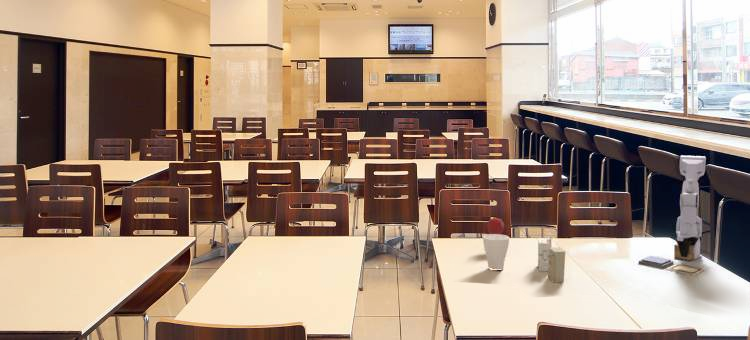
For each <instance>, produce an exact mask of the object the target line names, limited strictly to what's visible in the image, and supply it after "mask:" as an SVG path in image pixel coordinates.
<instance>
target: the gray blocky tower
mask: <svg viewBox="0 0 750 340" xmlns="http://www.w3.org/2000/svg"><path fill="white" fill-rule="evenodd" d="M548 234H549V238H538V239H537V240H538V241H537V243H538V244H537V249H538V250H537V255H538V258H537V267H539V268H538V272H547V271H548V262H549V248H552V234H551V232H550V231H549V233H548Z"/></svg>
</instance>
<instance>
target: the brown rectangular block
mask: <svg viewBox="0 0 750 340" xmlns="http://www.w3.org/2000/svg"><path fill="white" fill-rule="evenodd" d="M673 253H674V256H673V257H674V260H675V261H681V262H687V263H688V262H689V263H690V262H693V261H694V245H690V247H689V250H688V255H687V257H682V256H681V254H680V249H679V246H678V244H677V243H676V244H674V252H673ZM674 260H673V261H674Z"/></svg>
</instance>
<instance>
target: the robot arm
mask: <svg viewBox="0 0 750 340" xmlns="http://www.w3.org/2000/svg"><path fill="white" fill-rule="evenodd" d="M706 160H707V157H706V156H705V155H704V156H701V155H696V156H695V155H682V154H681V155H680V158H679V172H680V175H682V176H684V177H685V180H684V181H683V183H682V189H681V194H680V196H679V197H680V198H679V207H680V216H678V217H677V220H676V224H675V225H676V227H675V228H676V230H675V234H676V238H675V242H676V244H678V246H679V249H680V254H681V256H682V257H687V255H688V250H689V247H690V245H694V260H697V259H699V258H701V257H702V256H703V255H702V254H701V240H700V239H701V237H702V234H703V233H702V231H703V219H702V218H700V217H699V216H698V214H697V213H698V208H699V201H700V195H699V187H700V185H699V182H698V180H699V179H700V177H702V176H704V174H705V172H706V164H707V163H706ZM694 260H693V261H694Z"/></svg>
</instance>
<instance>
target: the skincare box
mask: <svg viewBox="0 0 750 340" xmlns="http://www.w3.org/2000/svg"><path fill="white" fill-rule="evenodd" d="M565 262H566V251H565V250H564V249H562V248H560V247H551V248H549V262H548V272H547V278H548V279H549V280H550V281H551V282H552V283H564V282H565V281H564V280H565V279H564V278H565Z"/></svg>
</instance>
